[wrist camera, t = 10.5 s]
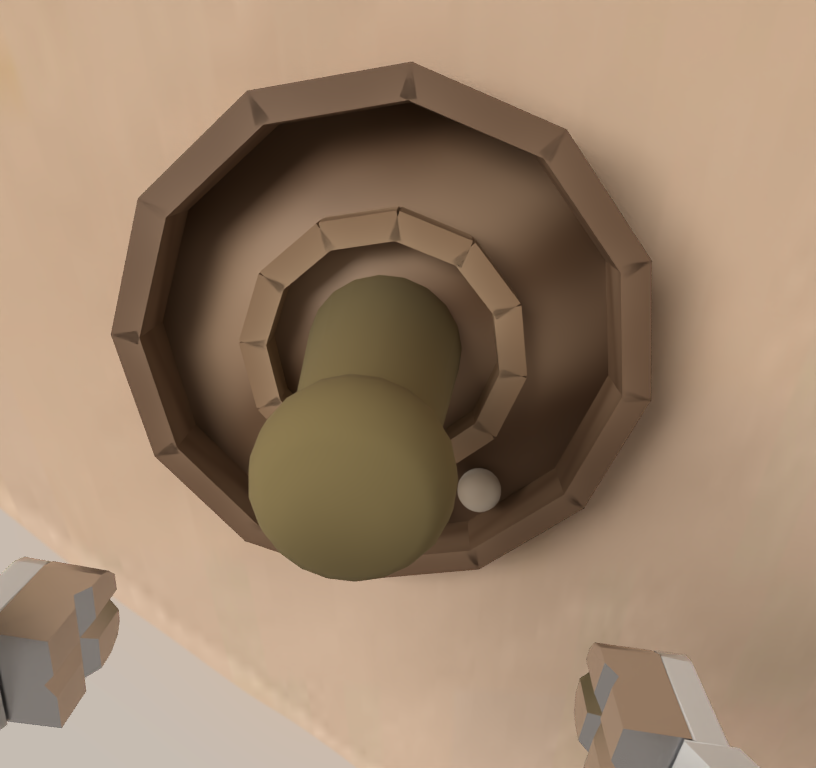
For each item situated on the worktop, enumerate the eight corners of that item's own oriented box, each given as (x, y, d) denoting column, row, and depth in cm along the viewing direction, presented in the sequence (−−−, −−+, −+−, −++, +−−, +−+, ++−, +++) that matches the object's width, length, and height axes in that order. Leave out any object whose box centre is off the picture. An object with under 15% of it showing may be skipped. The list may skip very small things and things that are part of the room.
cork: (437, 435, 25) (435, 645, 15) (295, 398, 25) (195, 588, 15) (481, 299, 23) (515, 439, 13) (325, 255, 22) (231, 364, 12)
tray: (714, 379, 25) (749, 412, 22) (361, 594, 30) (353, 642, 27) (428, -57, 19) (426, -87, 16) (59, 300, 25) (11, 322, 22)
